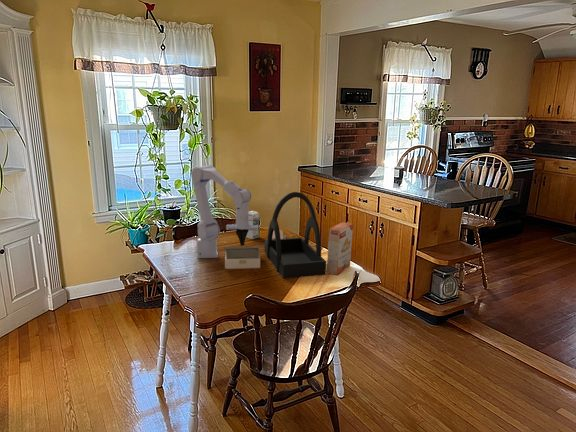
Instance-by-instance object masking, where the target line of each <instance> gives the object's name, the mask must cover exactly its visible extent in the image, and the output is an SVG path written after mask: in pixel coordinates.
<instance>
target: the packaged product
mask: <svg viewBox="0 0 576 432" xmlns="http://www.w3.org/2000/svg"><path fill="white" fill-rule="evenodd" d="M279 231H280V239H287V237H286V235H284V231H283V230H282V229H279ZM274 239H275V232H274V231H273V235H272V240H274Z"/></svg>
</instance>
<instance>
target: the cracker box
mask: <svg viewBox="0 0 576 432" xmlns="http://www.w3.org/2000/svg"><path fill="white" fill-rule="evenodd" d="M353 229H354V223H350V222H344V221H342V222H340V223H338V224H336V225H333V226H332V227H330V228H329V229H328V243H327V244H328V245H327V260H326V273H328V274H332V275H335V276H338V275H339V274H341V273H342V272H343V271H345V270H346V269H348V268H349V267H350V266H351V258H352V247H353V244H352V243H353V242H352V241H353V231H354V230H353Z"/></svg>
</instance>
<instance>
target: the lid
mask: <svg viewBox="0 0 576 432" xmlns="http://www.w3.org/2000/svg"><path fill="white" fill-rule="evenodd" d="M226 249H259V250H260V249H262V246H241V247H237V246H236V247H233V246H232V247H228V246H227V247H223V250H226Z"/></svg>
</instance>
